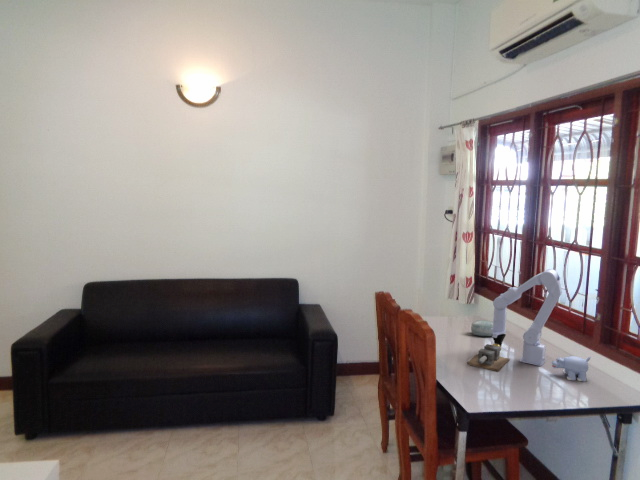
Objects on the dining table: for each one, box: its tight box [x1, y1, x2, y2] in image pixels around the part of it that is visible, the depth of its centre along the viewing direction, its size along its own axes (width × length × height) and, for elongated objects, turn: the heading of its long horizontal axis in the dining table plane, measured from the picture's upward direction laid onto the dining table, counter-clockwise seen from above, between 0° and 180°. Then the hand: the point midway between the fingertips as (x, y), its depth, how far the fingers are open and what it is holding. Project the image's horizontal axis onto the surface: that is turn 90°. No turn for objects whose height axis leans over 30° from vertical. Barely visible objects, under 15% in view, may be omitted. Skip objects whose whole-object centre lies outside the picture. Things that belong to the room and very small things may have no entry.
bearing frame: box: [466, 343, 511, 373], centre depth 229 cm, size 14×17×6 cm
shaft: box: [479, 343, 502, 363], centre depth 229 cm, size 4×22×4 cm, turn 144°
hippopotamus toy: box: [551, 355, 592, 382], centre depth 215 cm, size 11×15×10 cm
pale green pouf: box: [470, 319, 493, 337], centre depth 269 cm, size 14×10×10 cm
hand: (497, 348), depth 239 cm, fingers closed
